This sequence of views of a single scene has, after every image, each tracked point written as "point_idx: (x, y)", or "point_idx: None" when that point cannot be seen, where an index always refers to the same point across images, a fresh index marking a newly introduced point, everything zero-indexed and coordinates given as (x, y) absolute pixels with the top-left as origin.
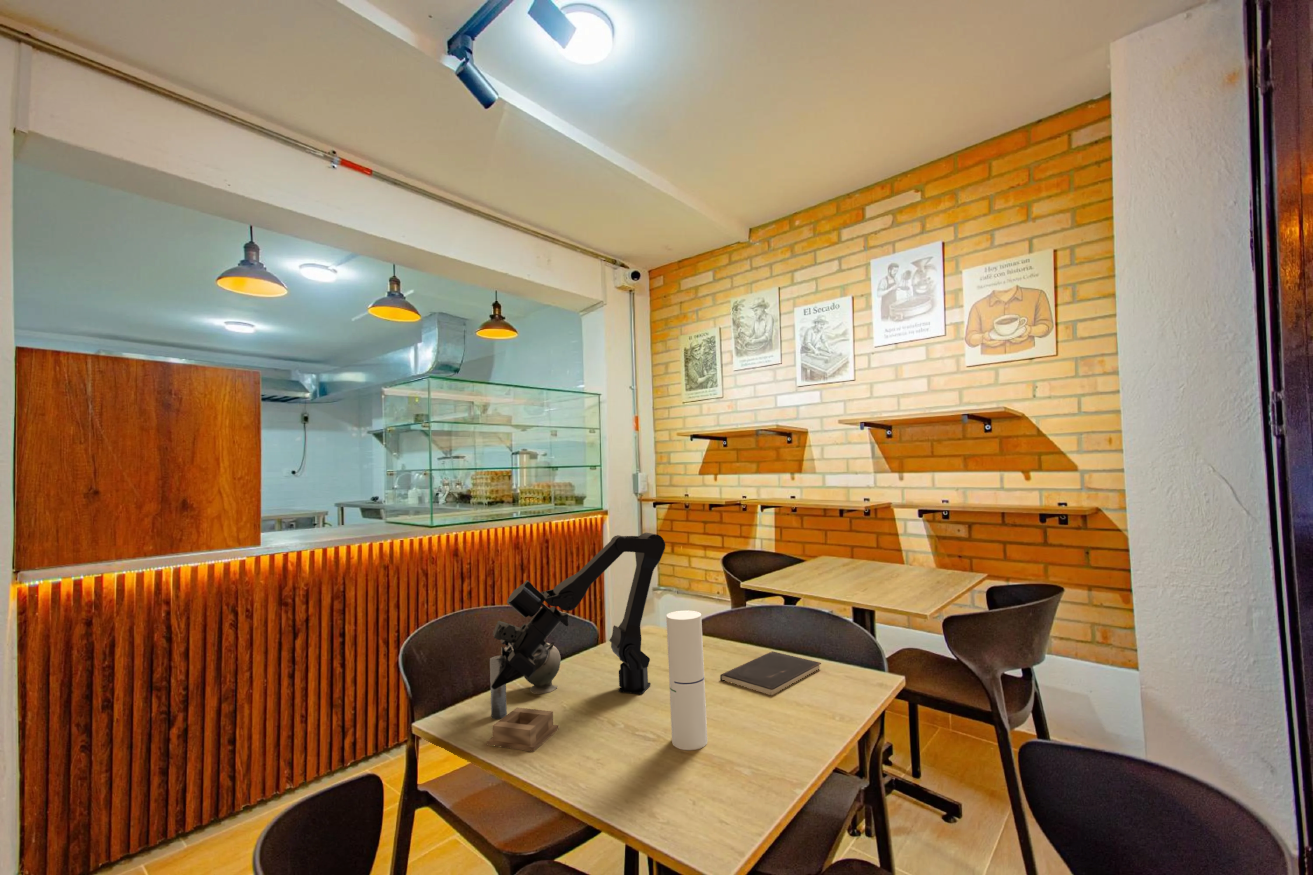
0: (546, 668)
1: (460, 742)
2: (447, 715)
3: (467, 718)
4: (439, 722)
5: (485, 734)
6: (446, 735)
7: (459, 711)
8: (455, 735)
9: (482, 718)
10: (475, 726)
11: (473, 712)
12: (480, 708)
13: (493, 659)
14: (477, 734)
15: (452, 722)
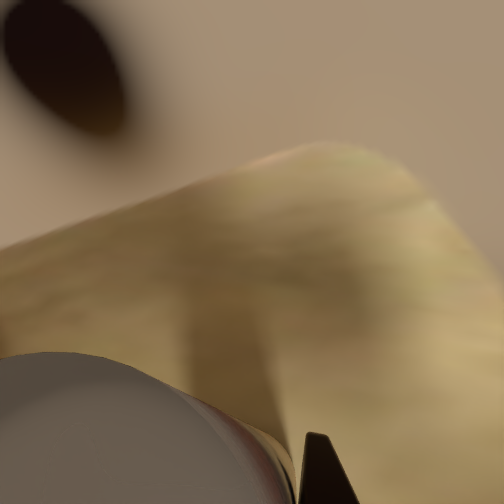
0: None
1: (88, 236)
2: (427, 228)
3: (328, 306)
4: (357, 190)
5: (74, 344)
6: (196, 199)
7: (455, 287)
8: (169, 229)
9: (277, 378)
10: (199, 321)
11: (397, 352)
12: (443, 406)
13: None
14: (104, 311)
15: (321, 237)
